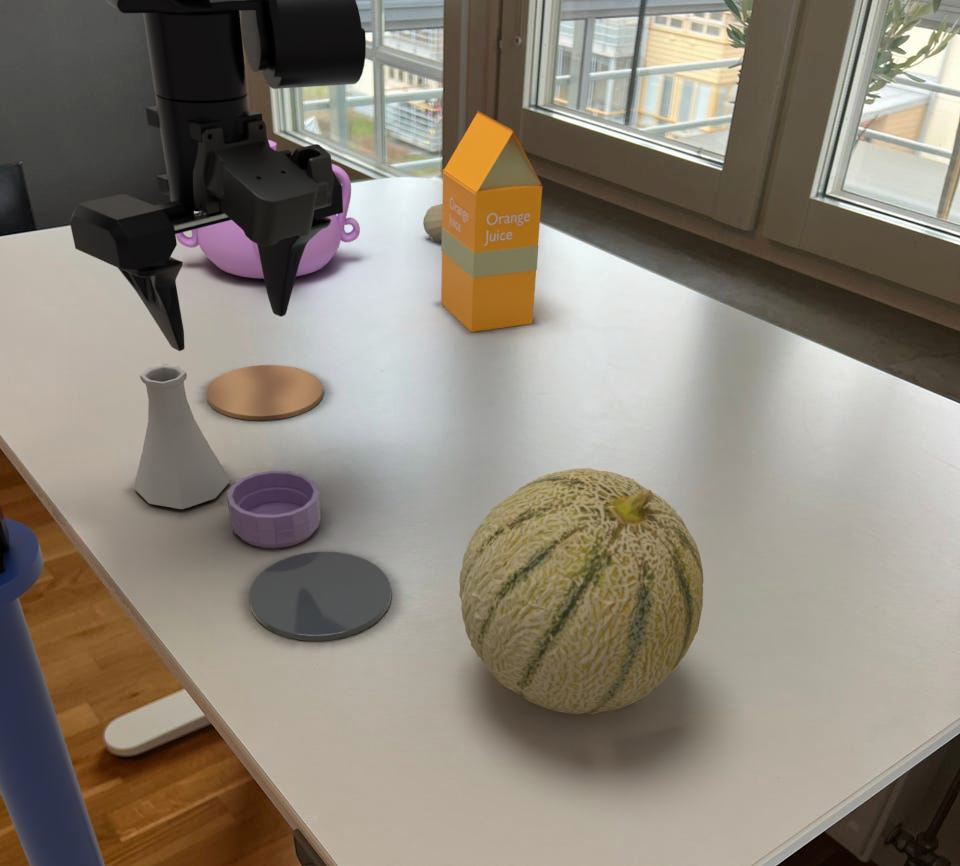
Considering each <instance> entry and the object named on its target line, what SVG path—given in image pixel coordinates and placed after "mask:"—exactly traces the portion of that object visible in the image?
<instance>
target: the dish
mask: <svg viewBox="0 0 960 866" xmlns="http://www.w3.org/2000/svg"><path fill="white" fill-rule="evenodd" d="M317 486H318V485H317V483H316V482H315V481H314V480H312V479H311V478H309V477H308V476H307V475H305V474H302V473H298V472H295V471H289V470H267V471H259V472H254V473H252V474H250V475H247V476H244V477H242V478H240V479H239V480H237V481H235V483H233V484H232V485H231V486H230V488H229V490H228V492H227V495H226V500H227V507H228V514H229V518H230V519H229V520H230V525H231V529H232V531H233V533H234V534H236V535H237V536H238V537H239V538H240V539H241V540H242V541H243V542H245V543H247V544H249V545H251V546H255V547H258V548H264V549H280V548H281V549H282V548H289V547H292V546H296V545H298V544H301V543H302V542H304V541H306V540H308V539H309V538H310V537H311V536H312V535H313V534H314V533H315V531H316V530H317V529H318V527H319V526H320V523H321V519H322V515H321V502H320V491H319V488H318V487H317Z"/></svg>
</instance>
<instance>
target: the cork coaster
mask: <svg viewBox="0 0 960 866" xmlns="http://www.w3.org/2000/svg"><path fill="white" fill-rule="evenodd" d="M205 393H206V394H205V395H206V399H207V403H208V404H209V406H210V407H211V408H212V409H213V410H214V411H216V412H218V413H220V414H222V415H224V416H227V417H231V418H233V419H239V420H248V421H274V420H275V421H276V420H282V419H288V418H292V417H295V416H298V415H299V416H300V415H302V414H304V413H306V412H308V411H310V410H312V409H313V408H314V407H317V405H318V404H319V403H320V402H321V401H322V399H323V397H324V385H323V383H322V381H321V380H320V379H319V378H318V377H317V375H314V374H313V373H311V372H309V371H307V370H305V369H301V368H298V367H293V366H290V365H289V366H288V365H278V364H259V365H251V366H244V367H241V368H236V369H232V370H229V371H227V372H224V373H222V374H220V375H218V376H217V377H215V378H214V379H213V380H212V381H211V382H210V383H209V384H208V386H207V388H206V392H205Z"/></svg>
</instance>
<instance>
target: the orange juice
mask: <svg viewBox="0 0 960 866" xmlns="http://www.w3.org/2000/svg"><path fill="white" fill-rule="evenodd" d="M543 188H544V186H543V184H542V182H541V180H540V178H539V177H538V174H537V173H536V171H535V169H534V167H533V165H532V163H531V162H530V160H529V158H528V156H527V154H526V151H525V150H524V149H523V147H522V145H521V142H520V141H519V139H518V137H517V135H516V133H515V131H514V130H513V129H512V128H510V127H508V126H507V125H504V123H501V122H500V121H498V120H496V119H494V118H492V117H490V116H488V115H486V114H485V113H483V112H481V111H479V110H477V112H476V114H475V116H474V118H473V119H472V121H471V123H470V125H469V126H468V128H467V130H466V131H465V133H464V135H463V136H462V138H461V140H460V142H459V143H458V145H457V147H456V148H455V150H454V152H453V153H452V155H451V156H450V159H449V160H448V162H447V164H446V166H445V167H444V168H443V169H442V204H443V205H442V240H441V247H440V248H441V249H440V250H441V277H440V278H441V282H440V283H441V286H440V300H441V301H440V304H441V306H443V307H444V308H445V309H446V310H447V311H448V312H449V313H450V314H451V315H452V316H453V317H455V319H457V320H458V321H459V322H460V324H462V325H463V326H464V327H465V328H466V329H467V330H468V331H469V332H470V333H475V332H476V333H477V332H483V331H489V330H496V329H504V328H510V327H518V326H524V325H525V326H526V325H532V324H533V318H534V304H535V294H536V293H535V292H536V277H537V270H538V259H539V258H538V257H539V238H540V225H541V211H542V210H541V209H542V196H543Z"/></svg>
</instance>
